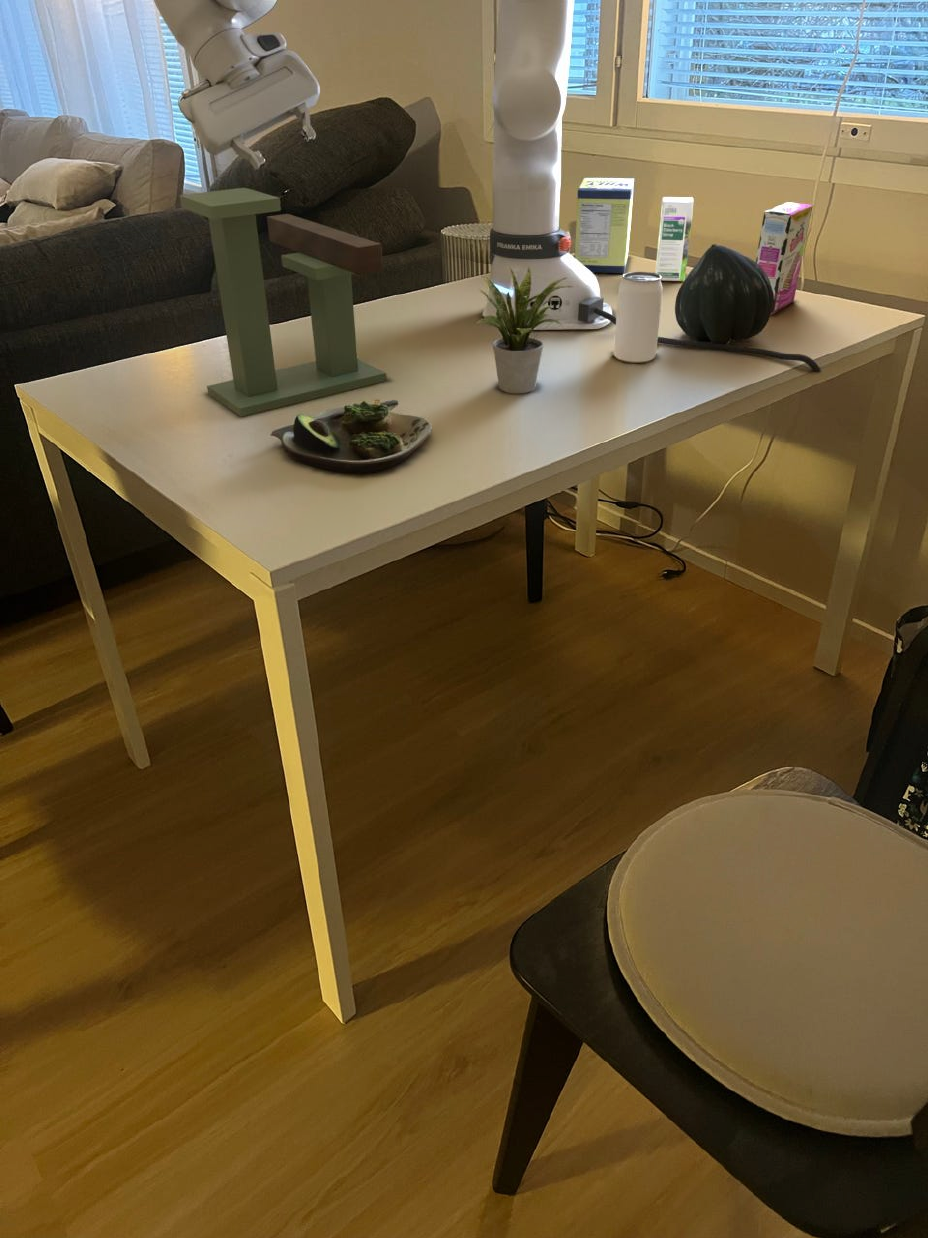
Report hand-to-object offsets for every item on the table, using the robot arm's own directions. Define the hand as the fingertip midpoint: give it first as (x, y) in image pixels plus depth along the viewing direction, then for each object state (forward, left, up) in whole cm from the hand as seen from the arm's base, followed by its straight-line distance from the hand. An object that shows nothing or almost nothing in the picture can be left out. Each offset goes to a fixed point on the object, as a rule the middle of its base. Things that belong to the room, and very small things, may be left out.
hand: (286, 152), depth 139 cm
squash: (-67, -7, -28) cm, 73 cm away
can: (-54, +4, -28) cm, 61 cm away
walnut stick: (-11, +19, -10) cm, 24 cm away
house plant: (-39, +21, -28) cm, 52 cm away
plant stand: (-7, +25, -27) cm, 38 cm away
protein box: (-45, -56, -28) cm, 77 cm away
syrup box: (-59, -46, -28) cm, 80 cm away
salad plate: (-21, +44, -28) cm, 56 cm away
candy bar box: (-77, -28, -28) cm, 87 cm away
